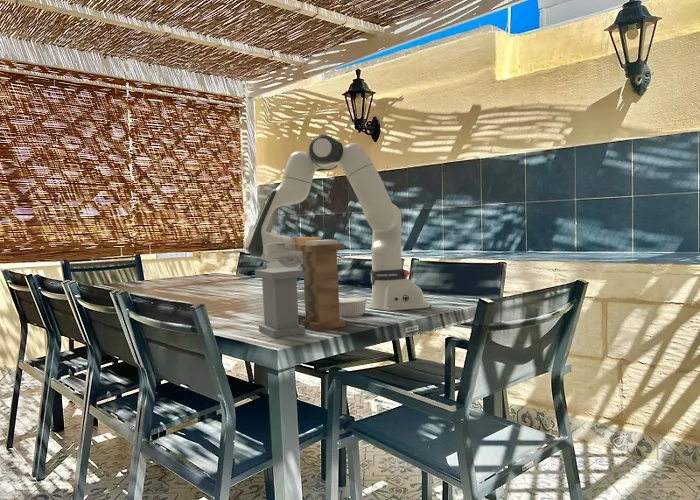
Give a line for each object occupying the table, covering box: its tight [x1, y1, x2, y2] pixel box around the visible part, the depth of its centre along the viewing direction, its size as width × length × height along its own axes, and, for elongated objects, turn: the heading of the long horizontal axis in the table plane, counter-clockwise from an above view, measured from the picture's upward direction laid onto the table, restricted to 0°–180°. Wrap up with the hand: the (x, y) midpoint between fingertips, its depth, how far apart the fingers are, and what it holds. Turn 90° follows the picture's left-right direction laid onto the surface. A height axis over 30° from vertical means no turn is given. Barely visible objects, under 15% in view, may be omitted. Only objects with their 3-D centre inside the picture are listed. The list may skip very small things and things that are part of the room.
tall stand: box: [295, 242, 347, 332], centre depth 171 cm, size 14×10×26 cm
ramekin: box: [339, 296, 368, 318], centre depth 191 cm, size 11×11×5 cm
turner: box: [294, 236, 339, 245], centre depth 175 cm, size 23×7×2 cm, turn 30°
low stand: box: [254, 267, 306, 339], centre depth 164 cm, size 14×10×19 cm
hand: (300, 239), depth 182 cm, fingers closed on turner, 3 cm apart
